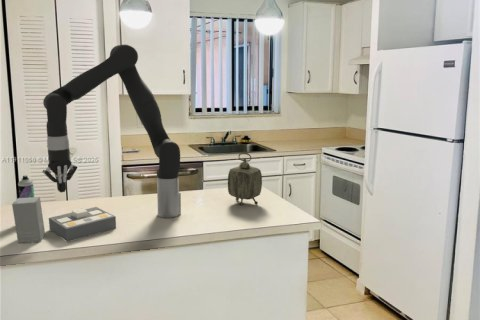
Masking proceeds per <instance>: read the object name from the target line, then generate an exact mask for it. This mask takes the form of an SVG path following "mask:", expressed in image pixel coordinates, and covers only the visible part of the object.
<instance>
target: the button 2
mask: <svg viewBox="0 0 480 320" xmlns="http://www.w3.org/2000/svg"><path fill="white" fill-rule="evenodd" d="M88 213H89V214H91V215H96V214H100V213H103V212H101V211H99V210H94V211H90V212H88Z"/></svg>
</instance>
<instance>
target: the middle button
mask: <svg viewBox="0 0 480 320" xmlns="http://www.w3.org/2000/svg"><path fill="white" fill-rule="evenodd" d="M85 209H86V208H78V209H74V210H72V211H71V213H72V217H74V218H76V219H79V218H83V217H87V216H88V211H87V210H85Z"/></svg>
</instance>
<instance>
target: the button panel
mask: <svg viewBox="0 0 480 320" xmlns="http://www.w3.org/2000/svg"><path fill="white" fill-rule="evenodd" d="M84 209H85V210H87V211H88V212H90V211H94V210H99V211H101V212H103V213H100V214H96V215H91V214H89V213H88V216H87V217H83V218H79V219H76V218H74V217H72V212H68V213H64V214H60V215H55V216H51V217H48V224H49V226H48V227H49V231H51V232H52V233H53V234H55V235H57V236H58V237H59V238H61V239H62V240H64V241H66V242H71V241H75V240H79V239H83V238H87V237H89V236H93V235H97V234H100V233H101V234H102V233H104V232H108V231H111V230H114V229H117V220H116V219H117V218H116V216H115V215H114V214H111V213H109V212H108V211H105V210H103V209H102V208H99V207H97V206H94V207H90V208H84ZM65 217H68V218H70V219H71V221H67V222H63V223H59V222H58V221H56V220H57V219H61V218H65Z"/></svg>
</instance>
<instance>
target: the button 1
mask: <svg viewBox="0 0 480 320" xmlns="http://www.w3.org/2000/svg"><path fill="white" fill-rule="evenodd" d="M56 221H58V222H59V223H63V222H67V221H71V219H70V218H68V217H65V218H61V219H57V220H56Z"/></svg>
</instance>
